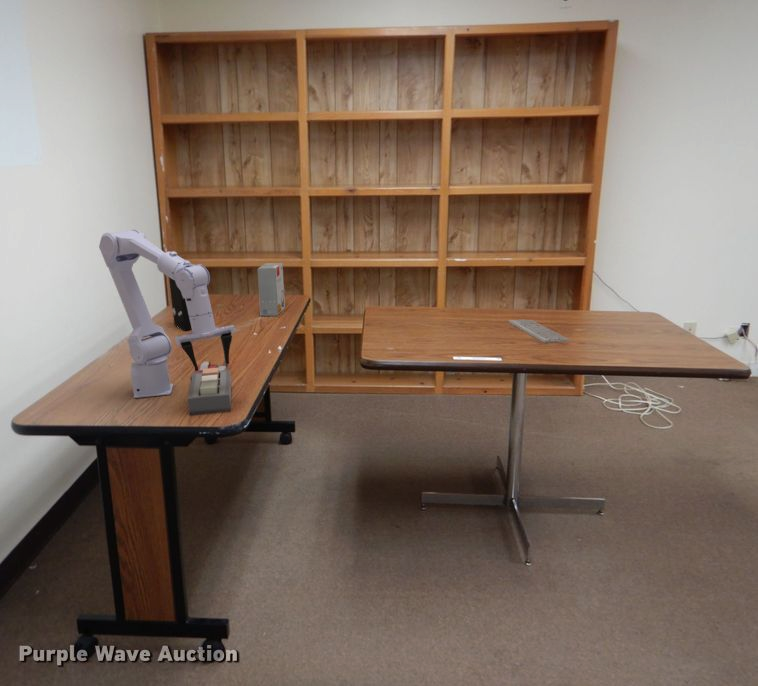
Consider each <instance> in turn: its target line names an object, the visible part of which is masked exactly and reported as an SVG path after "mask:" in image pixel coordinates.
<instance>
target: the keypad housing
mask: <svg viewBox="0 0 758 686" xmlns="http://www.w3.org/2000/svg"><path fill="white" fill-rule="evenodd" d="M202 373H203V372H201V373H193V372H192V374H193V375H192V374H191V376H192V380H190V385H189V389H188V396H187V405H188V413H189V416H196V415H205V414H206V415H207V414H216V412H218V413H225V412H226V411H227V412H231V411H232V381H231V380H232V379H231V369H227V370H223V371H219V378H218V383H219V386H217V387H218V394H211V395H201V393H200V386H201V379H202V376H203V375H202Z"/></svg>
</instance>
